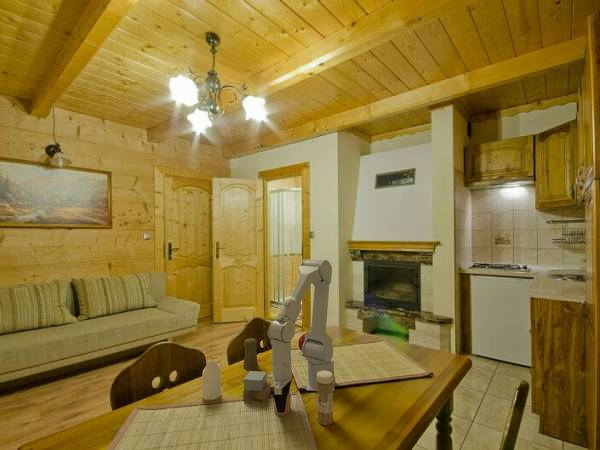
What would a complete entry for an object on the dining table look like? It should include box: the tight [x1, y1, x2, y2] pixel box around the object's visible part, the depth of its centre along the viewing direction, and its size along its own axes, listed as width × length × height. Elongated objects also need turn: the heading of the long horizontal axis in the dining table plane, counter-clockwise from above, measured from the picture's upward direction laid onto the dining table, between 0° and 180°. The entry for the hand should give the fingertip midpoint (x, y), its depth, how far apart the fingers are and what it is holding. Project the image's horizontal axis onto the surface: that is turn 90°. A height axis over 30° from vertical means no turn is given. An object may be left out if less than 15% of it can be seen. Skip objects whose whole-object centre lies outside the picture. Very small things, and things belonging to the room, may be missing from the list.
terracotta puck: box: [273, 393, 292, 417], centre depth 94 cm, size 5×5×4 cm
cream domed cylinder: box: [201, 360, 222, 401], centre depth 104 cm, size 6×12×6 cm
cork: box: [242, 337, 259, 371], centre depth 126 cm, size 6×6×11 cm
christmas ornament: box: [297, 330, 310, 353], centre depth 139 cm, size 9×9×10 cm
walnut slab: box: [242, 380, 272, 403], centre depth 104 cm, size 8×8×4 cm
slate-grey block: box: [243, 370, 268, 391], centre depth 104 cm, size 6×6×4 cm
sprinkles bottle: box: [316, 371, 334, 426], centre depth 89 cm, size 5×5×13 cm
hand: (282, 406), depth 94 cm, fingers closed on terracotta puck, 5 cm apart
